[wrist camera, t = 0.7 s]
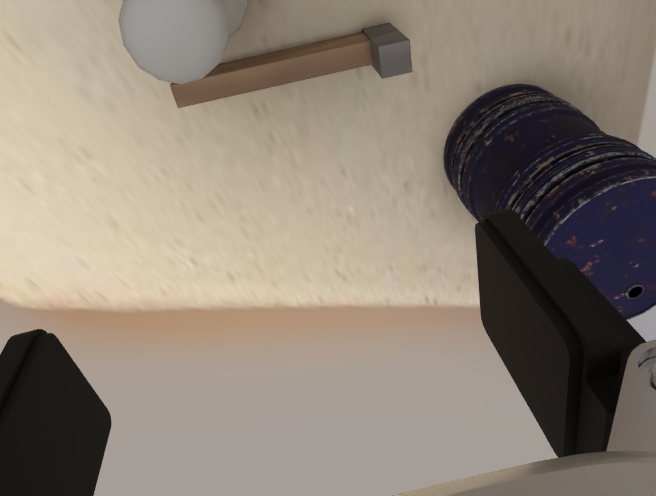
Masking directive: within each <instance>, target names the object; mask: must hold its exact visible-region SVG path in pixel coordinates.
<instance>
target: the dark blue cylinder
mask: <svg viewBox="0 0 656 496" xmlns="http://www.w3.org/2000/svg"><path fill="white" fill-rule="evenodd" d="M444 168H445V172H446V175H447V178H448V180H449V182H450V183H451V185H452V186H453V187H454V189H455V190H456V192H457V194H458V196H459V198H460V200H461V201H462V203H463V204H464V205H465V207H466V208H467V209H468V211H469V212H470V213H471V214H472V215H473V216H474V217H475V218H476V219H477V221H478V222H479V223H480V222H482V219H483V216H484V214H488V213H492V212H496V211H500V210H504V209H507V208H511V209H512V210H514V211H515V213H516V214H517V215H518V216H519V217H520V218H521V219H522V220H523V222H524V223H525V224H526V225H527V226H528V227H529V228H530V229H531V231H532V232H533V233H534V234H535V235H536V236H537V237H538V238H539V240H540V241H541V242H542V243H543V244H544V245H545V246H546V247H547V249H548V250H549V251H550V252H551V253H552V254H553V255H554V256H555V258H556V259H558V258H562V257H565V258H568V259H569V260H571V261H572V262H573V263H574V264H575V265H576V266H577V267H578V268H579V270H580V271H581V272H582V273H583V274H584V275H585V276H586V277H587V278H588V279H589V280H590V281H591V283H592V284H593V285H594V286H595V287H596V288H597V289H598V290H599V291H600V292H601V293H602V294H603V295H604V297H605V298H606V299H607V300H608V301H609V302H610V303H611V304H612V305H613V306H614V307H615V308H616V310H617V311H618V312H619V313H620V314H621V315H622V316H623V317H624V318H625V319H626V320H629V319H632V318H634V317H636V316H638V315H640V314H643V313H645V312H646V311H648V310H650V309H652V308H653V307H655V306H656V158H654V157H653V156H651V155H650V154H648V153H646V152H644V151H642V150H641V149H640V148H638V147H637V146H636V145H634V144H632V143H630V142H628V141H626V140H624V139H620V138H617V137H614V136H610V135H607V134H605V133H604V132H602V131H601V130H600V129H599V128H598V126H597V125H596V124H595V123H594V122H593V121H592V120H591V119H589V118H588V117H587V116H585V115H584V114H583V113H582V112H581V111H579V110H578V109H577V108H576V107H574V106H573V105H571V104H570V103H568V102H566V101H564V100H562V99H560V98H558V97H555V96H553V95H552V94H551V93H549V92H547V91H546V90H544V89H542V88H539V87H536V86H532V85H526V84H515V85H507V86H503V87H499V88H497V89H494V90H492V91H490V92H488V93H486V94H484V95H483V96H481V97H479V98H478V99H477V100H475V101H474V102H473V103H471V104H470V105H469V106H468V107H467V108H466V109H465V110H464V111H463V112H462V113H461V115H460V116H459V117H458V119H457V120H456V121H455V123H454V125H453V127H452V128H451V130H450V132H449V135H448V137H447V140H446V144H445V148H444Z"/></svg>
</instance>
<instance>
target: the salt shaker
mask: <svg viewBox="0 0 656 496" xmlns="http://www.w3.org/2000/svg"><path fill="white" fill-rule="evenodd" d="M246 8H247V0H123V4H122V8H121V11H120V15H119V25H120V30H121V34H122V39H123V43H124V46H125V48H126V49H127V51H128V52H129V54H130V55H131V57H132V58H133V60H134V61H135V63H136V64H137V66H138V67H140V68H141V69H143V70H144V71H146V72H147V73H149V74H150V75H152V76H153V77H155V78H157V79H158V80H162V81H167V82H172V83H177V84H184V83H188V82H191V81H195V80H198V79H202V78H203V77H205V76H206V75H207V74H208V73H209V72H210V71H211V70H213V69H214V68H215V67H216V66H217V65H218V64H219V63H220V62H221V61H222V58H223V55H224V52H225V49H226V46H227V44H228V41H229V38H230V37H231V36H232V35H233V34H234V33H235V32H236V31H237V30H239V29H240V26H241V23H242V20H243V17H244V14H245V11H246Z"/></svg>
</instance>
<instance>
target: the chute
mask: <svg viewBox="0 0 656 496" xmlns="http://www.w3.org/2000/svg"><path fill="white" fill-rule="evenodd" d="M371 64H372V66H373V67H374V68H375V70H376V71H377V72H378V74H379V75H380V76H381V78H382V79H383V78H387V77H392V76H396V75H401V74H405V73H410V72H412V62H411V51H410V40H409V39H408V38H406V37H405V36H404V35H403V34H402V33H401V32H400V31H398V30H397V29H396V28H395V27H394V26H393V25H391V24H390V23H386V24H381V25H377V26H373V27H368V28H364V29H362V32H361V33H356V34H352V35H347V36H343V37H339V38H334V39H330V40H325V41H321V42H316V43H312V44H307V45H303V46H299V47H294V48H290V49H285V50H281V51H276V52H272V53H268V54H263V55H259V56H254V57H250V58H245V59H241V60H236V61H232V62H228V63H223V64H219V65H217V66H216V67H215V68H214V69H213V70H211V71H210V72H209V73H208V74H207V75H206V76H205V77H203V78H202V79H198V80H195V81H191V82H188V83H184V84H177V83H172V82H171V85H170V87H171V90H172V93H173V95H174V98H175V101H176V104H177V107H178V108H181V107H185V106H189V105H194V104H198V103H203V102H207V101H212V100H216V99H220V98H225V97H229V96H234V95H238V94H243V93H247V92H251V91H256V90H260V89H265V88H269V87H274V86H278V85H282V84H287V83H291V82H296V81H300V80H305V79H309V78H313V77H318V76H322V75H327V74H331V73H336V72H340V71H344V70H349V69H353V68H358V67H362V66H367V65H371Z"/></svg>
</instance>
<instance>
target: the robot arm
mask: <svg viewBox="0 0 656 496" xmlns="http://www.w3.org/2000/svg"><path fill="white" fill-rule="evenodd" d="M475 235H476V250H477V265H478V280H479V294H480V309H481V319H482V323H483V326H484V328H485V330H486V333H487V334H488V336H489V338H490V340H491V341H492V343H493V345H494V347H495V348H496V350H497V352H498V354H499V355H500V357H501V359H502V360H503V362H504V364H505V366H506V368H507V369H508V371H509V373H510V374H511V376H512V378H513V380H514V382H515V383H516V385H517V387H518V389H519V391H520V392H521V394H522V396H523V398H524V399H525V401H526V403H527V405H528V406H529V408H530V410H531V412H532V413H533V415H534V417H535V419H536V420H537V422H538V424H539V426H540V427H541V429H542V431H543V432H544V434H545V436H546V438H547V440H548V442H549V443H550V445H551V447H552V448H553V450H554V452H555V454H556V455H557V456H558V457H559V458H555V459H550V460H544V461H538V462H534V463H529V464H524V465H520V466H516V467H512V468H507V469H503V470H498V471H494V472H490V473H485V474H481V475H477V476H472V477H468V478H463V479H459V480H455V481H451V482H447V483H442V484H439V485H434V486H430V487H426V488H422V489H418V490H414V491H411V492H406V493H402V494H398V495H394V496H656V340H652V341H649V342H646V341H645V340H644V339H643V338H642V337H641V336H640V335H639V333H638V332H637V331H636V330H635V329H634V328H633V327H632V326H631V325H630V324H629V323H628V321H627V320H626V319H625V318H624V317H623V316H622V315H621V314H620V313H619V312H618V311H617V310H616V308H615V307H614V306H613V305H612V304H611V303H610V302H609V301H608V300H607V299H606V298H605V297H604V295H603V294H602V293H601V292H600V291H599V290H598V289H597V288H596V287H595V286H594V285H593V284H592V283H591V281H590V280H589V279H588V278H587V277H586V276H585V275H584V274H583V273H582V272H581V271H580V270H579V268H578V267H577V266H576V265H575V264H574V263H573V262H572V261H571V260H569V259H568V258H565V257H562V258H558V259H556V258H555V256H554V255H553V254H552V253H551V252H550V251H549V250H548V249H547V247H546V246H545V245H544V244H543V243H542V242H541V241H540V240H539V238H538V237H537V236H536V235H535V234H534V233H533V232H532V231H531V229H530V228H529V227H528V226H527V225H526V224H525V223H524V222H523V220H522V219H521V218H520V217H519V216H518V215H517V214H516V213H515V211H514V210H512V209H511V208H507V209H504V210H500V211H496V212H492V213H488V214H484V216H483V219H482V222H480V223H477V224H476V225H475ZM110 429H111V416H110V413H109V411H108V409H107V408H106V406H105V405H104V404H103V402H102V401H101V399H100V398H99V397H98V395H97V394H96V392H95V391H94V390H93V388H92V387H91V385H90V384H89V383H88V381H87V380H86V378H85V377H84V375H83V374H82V373H81V371H80V369H79V368H78V367H77V365H76V364H75V362H74V361H73V360H72V358H71V357H70V355H69V354H68V353H67V351H66V350H65V348H64V347H63V345H62V344H61V343H60V341H59V340H58V338H57V337H56V336H55V335H54V334H52V333H47V332H46V331H44V330H42V329H37V330H33V331H29V332H25V333H21V334H17V335H14V336H12V337H11V338H10V339H9V340H8V342H7V343H6V345H5V347H4V349H3V351H2V353H1V354H0V496H93V495H94V491H95V487H96V483H97V479H98V475H99V472H100V468H101V464H102V460H103V456H104V452H105V448H106V444H107V441H108V437H109V433H110Z"/></svg>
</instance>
